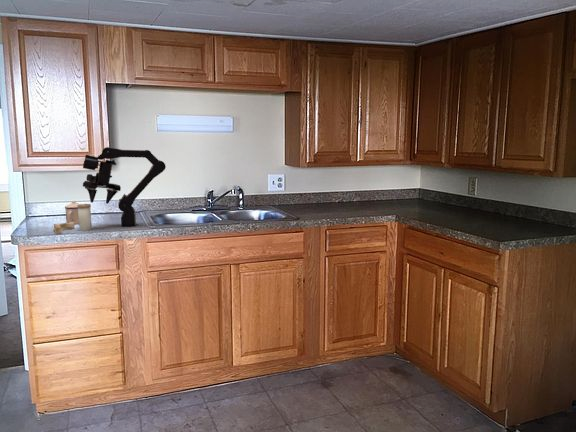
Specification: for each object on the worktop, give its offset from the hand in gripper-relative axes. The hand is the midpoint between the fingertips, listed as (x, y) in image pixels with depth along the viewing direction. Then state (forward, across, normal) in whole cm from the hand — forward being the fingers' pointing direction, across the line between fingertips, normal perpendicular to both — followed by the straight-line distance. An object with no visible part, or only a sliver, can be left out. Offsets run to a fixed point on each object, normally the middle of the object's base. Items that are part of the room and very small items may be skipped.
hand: (99, 203), depth 251 cm
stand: (+15, +14, -3) cm, 21 cm away
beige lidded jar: (+15, -2, -18) cm, 24 cm away
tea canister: (+13, +6, +1) cm, 15 cm away
